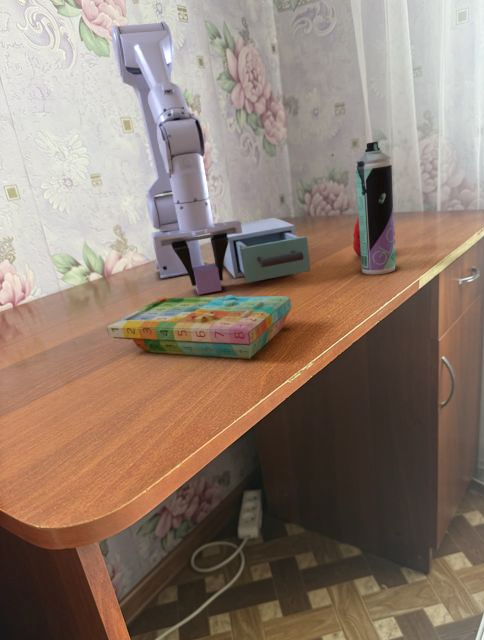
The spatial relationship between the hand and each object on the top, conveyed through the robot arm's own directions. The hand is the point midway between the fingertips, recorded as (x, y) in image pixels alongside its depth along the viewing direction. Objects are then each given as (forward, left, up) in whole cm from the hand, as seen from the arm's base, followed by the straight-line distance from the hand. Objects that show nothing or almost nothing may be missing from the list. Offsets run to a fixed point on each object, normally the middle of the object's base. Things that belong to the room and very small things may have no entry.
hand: (206, 282), depth 86 cm
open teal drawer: (+12, +2, -1) cm, 12 cm away
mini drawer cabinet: (+12, +13, -2) cm, 18 cm away
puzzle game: (-4, -24, -2) cm, 25 cm away
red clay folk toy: (+32, +2, -2) cm, 32 cm away
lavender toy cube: (0, 0, -1) cm, 1 cm away
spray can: (+28, -8, -2) cm, 29 cm away
